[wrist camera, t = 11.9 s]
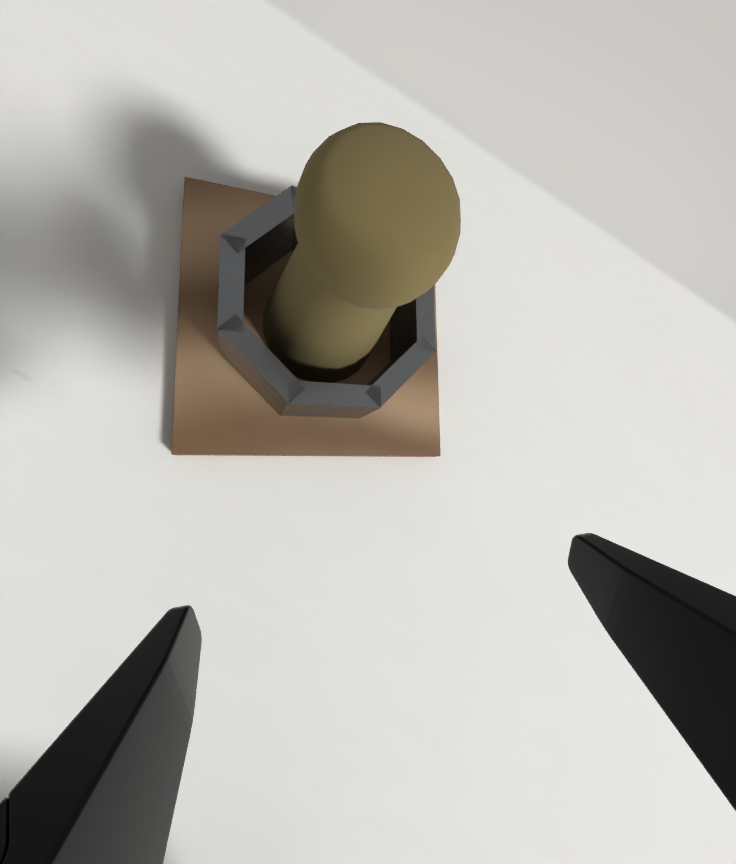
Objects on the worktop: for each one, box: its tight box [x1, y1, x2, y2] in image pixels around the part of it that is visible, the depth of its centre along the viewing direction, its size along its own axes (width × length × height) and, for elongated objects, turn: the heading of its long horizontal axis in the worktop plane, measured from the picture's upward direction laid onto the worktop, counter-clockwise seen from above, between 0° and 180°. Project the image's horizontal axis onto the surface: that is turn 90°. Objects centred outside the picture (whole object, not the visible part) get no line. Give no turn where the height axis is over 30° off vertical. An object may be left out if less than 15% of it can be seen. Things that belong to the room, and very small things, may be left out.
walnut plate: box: [172, 177, 440, 457], centre depth 21 cm, size 14×14×1 cm
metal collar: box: [217, 186, 436, 419], centre depth 19 cm, size 10×10×4 cm
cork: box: [263, 123, 461, 383], centre depth 16 cm, size 6×6×11 cm
